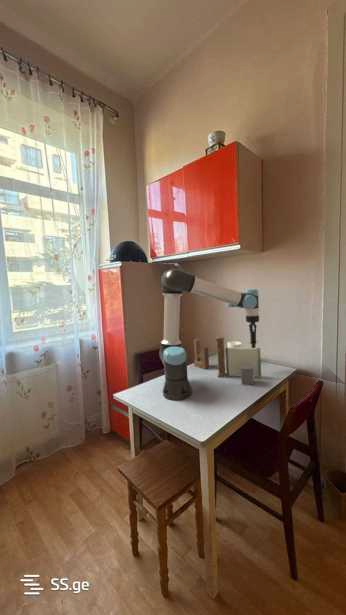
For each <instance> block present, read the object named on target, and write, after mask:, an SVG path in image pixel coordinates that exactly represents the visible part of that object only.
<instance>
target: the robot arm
mask: <svg viewBox="0 0 346 615" xmlns="http://www.w3.org/2000/svg"><path fill="white" fill-rule="evenodd" d="M160 283H161V295H163V297H164V304H163V305H164V306H163V308H164V309H163V311H164V312H163V339H162V340H161V341H160V349H159V354H158V355H159V358H160V360H161V362H162V364H163V367H164V379H165V380H164V383H163V387H162V388H163V389H162V396H163V397H164V398H165V399H168V400H172V401H182V400H184V399H188V398H189V397H191V396H192V394H193V388H192V385H191V384H190V380H189V379H188V363H187V362H188V361H187V358H188V357H187V353H186V350H185V349H184V347H182V341H181V340H180V339H179V337H180V310H181V309H180V306H181V305H180V304H181V302H180V300H181V297H182V296H183V294H184V293H187V294H191V293H194V294H196V295H199V296H203V297H206V298H209V299H213V300H216V301H220V302H221V303H225V306H226V307H227V308H238V309H239V308H241V309H245V315H246V316H245V321H246V322H247V323H249V324H248V327H249V334H250V342H249V345H250V348H257V342H258V341H257V324H256V323H259V322H260V315H259V314H260V311H261V310H260V308H259V307H260V304H259V303H260V302H259V296H260V295H259V291H258V289H257V288H248V289H247V288H246V289H245V290H244V292H240V291H238V290H234V289H231V288H228V287H227V286H226V287H225V286H222V285H219V284H217V283H213V282H211V281H207V280H204V279H201V278H198V277H197V276H196V274H192V273H190V272H188V271H185V270H183V269H179V268H171V269H168V270H165V272H164V273H163V274H162V276H161V278H160Z"/></svg>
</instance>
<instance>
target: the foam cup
mask: <svg viewBox="0 0 346 615" xmlns="http://www.w3.org/2000/svg"><path fill="white" fill-rule="evenodd" d="M242 345H243V344H242V342H240V341H235V340H233V341H228V342H227V348H243V347H242Z"/></svg>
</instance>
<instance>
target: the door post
mask: <svg viewBox="0 0 346 615" xmlns="http://www.w3.org/2000/svg"><path fill="white" fill-rule="evenodd" d="M215 338H216V342H217V343H216V344H217V345H216V346H217V361H218V364H217V365H218V366H217V367H218V372H217V378H222V379H224V378H226V379H227V376H228V375H227V372H226V356H225V336H216V337H215Z"/></svg>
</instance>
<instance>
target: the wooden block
mask: <svg viewBox="0 0 346 615" xmlns="http://www.w3.org/2000/svg"><path fill="white" fill-rule="evenodd" d="M193 343H194V344H193V346H194V360H193V365H194V366H195V367H198V368H201V369H204V370H208V369H210V358H209V357H210V356H209V347H203V349H202V350H201V345H200V339H198V338H197V339H194V340H193Z"/></svg>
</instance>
